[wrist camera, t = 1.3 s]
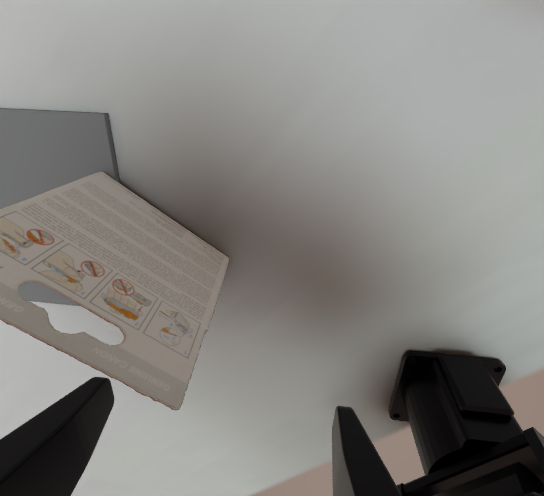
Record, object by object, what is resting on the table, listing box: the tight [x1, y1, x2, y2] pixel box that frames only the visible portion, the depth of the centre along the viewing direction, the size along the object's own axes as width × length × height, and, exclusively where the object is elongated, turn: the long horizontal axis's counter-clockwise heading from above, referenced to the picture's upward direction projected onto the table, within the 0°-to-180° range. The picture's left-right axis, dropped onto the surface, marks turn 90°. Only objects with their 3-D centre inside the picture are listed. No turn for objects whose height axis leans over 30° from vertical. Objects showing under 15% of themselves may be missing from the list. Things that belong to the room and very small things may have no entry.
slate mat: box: [0, 108, 120, 306], centre depth 21 cm, size 13×10×1 cm
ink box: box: [0, 172, 229, 410], centre depth 15 cm, size 3×9×12 cm, turn 53°
